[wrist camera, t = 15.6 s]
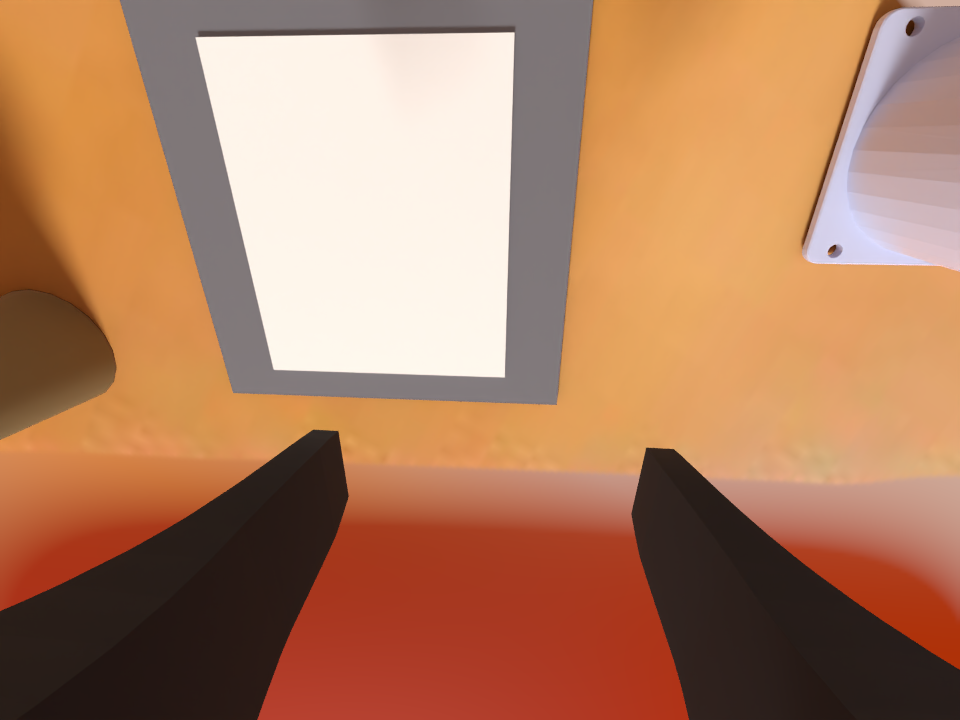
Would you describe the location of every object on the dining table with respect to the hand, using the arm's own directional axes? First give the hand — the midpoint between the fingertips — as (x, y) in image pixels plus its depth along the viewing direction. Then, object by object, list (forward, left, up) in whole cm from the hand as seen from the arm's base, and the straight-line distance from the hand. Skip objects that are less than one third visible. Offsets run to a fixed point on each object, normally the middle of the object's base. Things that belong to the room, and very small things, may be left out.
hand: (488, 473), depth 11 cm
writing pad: (+5, -4, -10) cm, 12 cm away
